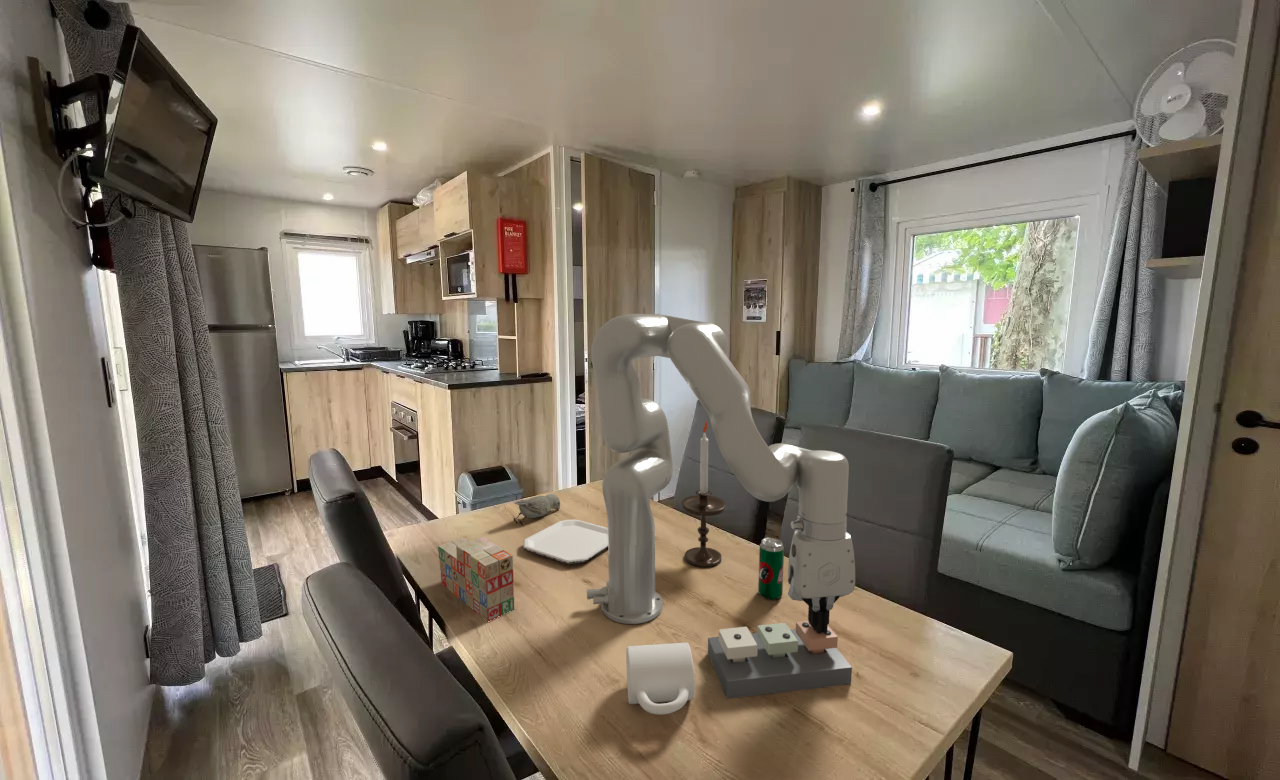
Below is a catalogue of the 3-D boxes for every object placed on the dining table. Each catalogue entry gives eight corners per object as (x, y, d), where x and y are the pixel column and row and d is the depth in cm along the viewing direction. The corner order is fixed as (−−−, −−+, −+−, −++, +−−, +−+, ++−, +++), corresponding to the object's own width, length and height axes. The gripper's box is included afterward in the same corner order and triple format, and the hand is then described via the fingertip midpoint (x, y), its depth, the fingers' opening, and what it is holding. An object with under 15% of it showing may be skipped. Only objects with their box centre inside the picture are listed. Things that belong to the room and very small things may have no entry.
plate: (626, 540, 137) (626, 532, 137) (577, 573, 120) (577, 564, 120) (567, 523, 148) (567, 516, 148) (515, 551, 131) (514, 543, 131)
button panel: (727, 698, 80) (727, 681, 80) (707, 653, 91) (708, 637, 91) (851, 684, 83) (852, 667, 83) (818, 641, 94) (819, 626, 93)
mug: (626, 679, 85) (625, 635, 84) (685, 675, 86) (686, 631, 84) (631, 738, 73) (630, 688, 72) (700, 733, 74) (700, 683, 73)
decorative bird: (564, 512, 157) (564, 489, 155) (521, 529, 145) (520, 504, 143) (553, 508, 160) (552, 485, 159) (510, 524, 148) (509, 499, 147)
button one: (727, 676, 83) (727, 647, 82) (718, 655, 88) (718, 628, 87) (756, 672, 84) (757, 644, 83) (746, 653, 89) (746, 625, 88)
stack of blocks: (440, 584, 115) (436, 532, 114) (466, 574, 120) (463, 524, 118) (487, 623, 100) (484, 565, 99) (515, 610, 105) (513, 554, 103)
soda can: (783, 602, 107) (785, 548, 105) (758, 599, 108) (760, 546, 106) (781, 589, 112) (783, 537, 110) (757, 587, 113) (759, 536, 111)
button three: (808, 667, 85) (809, 638, 84) (795, 647, 90) (796, 620, 89) (836, 663, 86) (837, 635, 85) (821, 645, 91) (822, 618, 90)
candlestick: (712, 546, 133) (714, 414, 128) (733, 565, 123) (736, 423, 117) (674, 552, 129) (674, 417, 124) (691, 572, 119) (693, 426, 114)
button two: (768, 671, 84) (769, 643, 83) (757, 651, 89) (757, 624, 88) (796, 668, 85) (798, 640, 84) (784, 648, 90) (785, 622, 89)
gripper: (788, 539, 80) (786, 646, 82) (877, 531, 82) (871, 637, 84) (769, 520, 87) (767, 619, 90) (851, 514, 89) (847, 611, 92)
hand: (818, 627), depth 87 cm, fingers closed
